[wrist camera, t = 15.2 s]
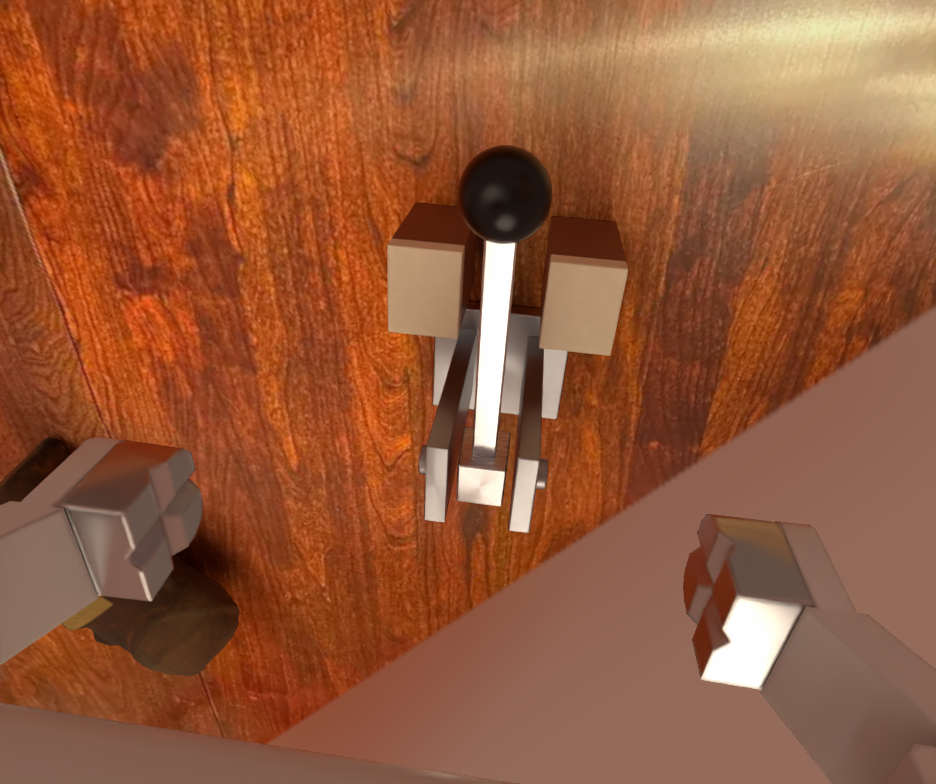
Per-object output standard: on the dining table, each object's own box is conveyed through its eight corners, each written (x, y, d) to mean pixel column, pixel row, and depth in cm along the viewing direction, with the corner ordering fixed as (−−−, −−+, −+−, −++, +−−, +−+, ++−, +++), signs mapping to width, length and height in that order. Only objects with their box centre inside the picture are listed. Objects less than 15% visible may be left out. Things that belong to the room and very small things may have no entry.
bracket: (439, 297, 38) (392, 418, 27) (573, 311, 37) (580, 440, 26) (435, 395, 41) (392, 535, 31) (557, 409, 41) (557, 557, 30)
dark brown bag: (209, 633, 58) (166, 711, 52) (-1, 506, 53) (-77, 576, 46) (281, 571, 53) (244, 650, 46) (56, 422, 47) (-23, 488, 40)
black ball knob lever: (465, 125, 20) (451, 168, 18) (559, 133, 20) (556, 177, 18) (456, 456, 32) (447, 505, 30) (514, 464, 32) (509, 513, 30)
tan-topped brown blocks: (616, 221, 34) (628, 268, 28) (602, 298, 37) (610, 356, 31) (415, 202, 35) (386, 244, 29) (414, 278, 37) (387, 332, 31)
